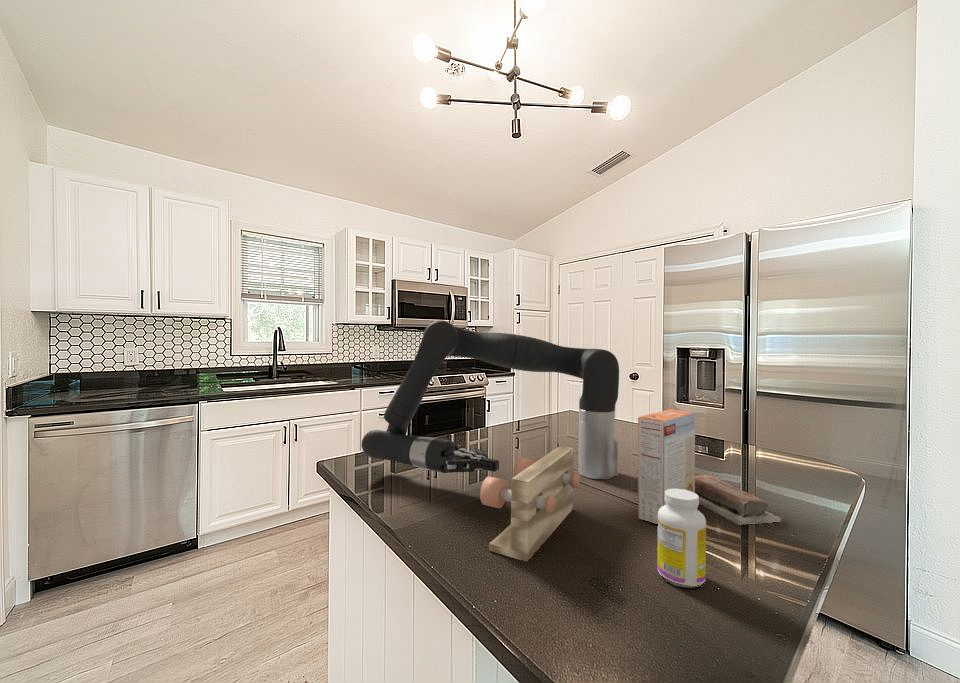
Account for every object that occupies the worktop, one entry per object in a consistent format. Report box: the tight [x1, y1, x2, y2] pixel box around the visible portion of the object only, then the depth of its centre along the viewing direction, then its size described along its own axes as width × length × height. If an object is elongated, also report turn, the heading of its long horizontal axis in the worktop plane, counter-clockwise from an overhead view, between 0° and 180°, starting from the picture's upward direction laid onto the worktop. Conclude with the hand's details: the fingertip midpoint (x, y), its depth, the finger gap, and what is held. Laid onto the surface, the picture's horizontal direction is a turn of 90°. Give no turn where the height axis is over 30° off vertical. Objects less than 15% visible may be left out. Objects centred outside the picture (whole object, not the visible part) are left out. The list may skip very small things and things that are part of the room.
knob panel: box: [488, 445, 574, 563], centre depth 79 cm, size 7×24×13 cm, turn 150°
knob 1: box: [479, 476, 556, 514], centre depth 73 cm, size 13×5×5 cm, turn 60°
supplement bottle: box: [656, 489, 707, 586], centre depth 63 cm, size 7×7×13 cm
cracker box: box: [637, 408, 696, 524], centre depth 86 cm, size 14×6×21 cm, turn 131°
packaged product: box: [695, 474, 782, 524], centre depth 91 cm, size 18×5×10 cm
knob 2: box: [513, 457, 581, 489], centre depth 86 cm, size 13×5×5 cm, turn 60°
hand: (497, 465), depth 91 cm, fingers closed
